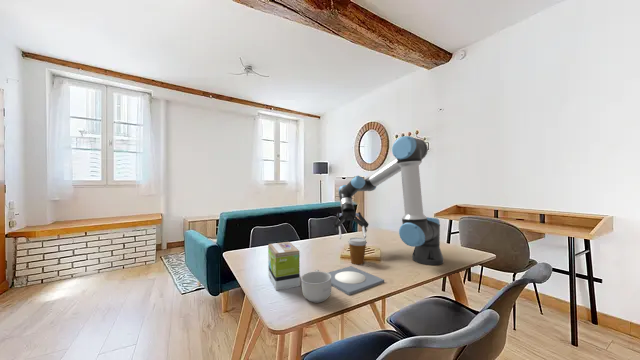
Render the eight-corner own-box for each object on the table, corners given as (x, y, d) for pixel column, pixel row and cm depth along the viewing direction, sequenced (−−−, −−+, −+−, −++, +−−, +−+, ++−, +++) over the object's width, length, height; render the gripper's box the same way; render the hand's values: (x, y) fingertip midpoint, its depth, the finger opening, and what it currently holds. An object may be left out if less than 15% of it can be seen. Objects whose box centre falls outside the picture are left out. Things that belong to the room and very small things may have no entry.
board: (351, 268, 117) (351, 265, 117) (384, 282, 101) (384, 279, 101) (317, 277, 106) (317, 274, 106) (348, 295, 90) (348, 291, 90)
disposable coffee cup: (368, 266, 121) (368, 241, 121) (349, 265, 121) (349, 241, 121) (365, 259, 130) (365, 237, 130) (347, 259, 130) (347, 237, 130)
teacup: (328, 307, 81) (328, 283, 81) (297, 304, 83) (297, 280, 83) (334, 289, 94) (334, 268, 94) (307, 287, 96) (307, 266, 96)
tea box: (267, 276, 107) (267, 243, 107) (289, 273, 110) (289, 241, 111) (275, 291, 93) (275, 252, 93) (300, 286, 97) (300, 249, 97)
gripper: (366, 210, 151) (373, 240, 136) (326, 210, 148) (329, 241, 133) (368, 202, 146) (376, 233, 131) (327, 203, 143) (330, 234, 128)
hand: (352, 237), depth 132 cm, fingers open, 13 cm apart
